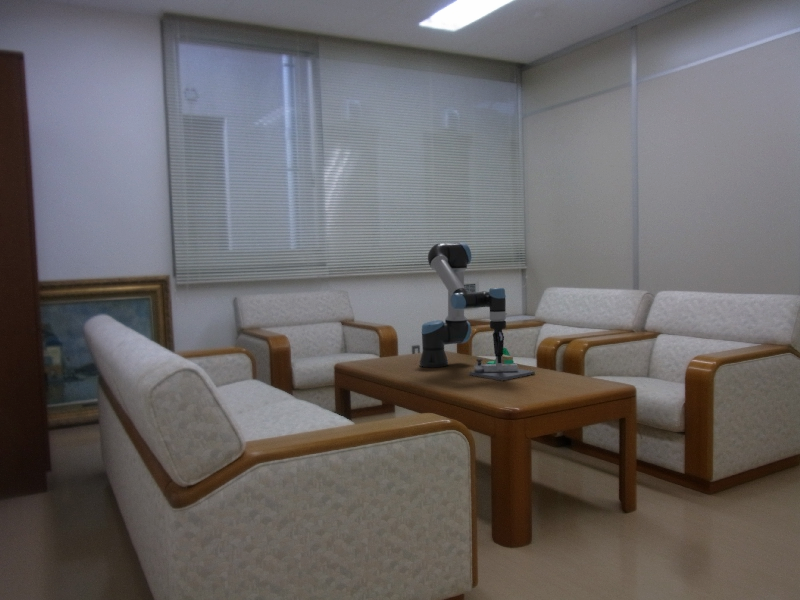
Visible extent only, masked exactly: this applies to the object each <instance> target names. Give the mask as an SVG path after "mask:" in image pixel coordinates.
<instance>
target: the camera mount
mask: <svg viewBox="0 0 800 600" xmlns="http://www.w3.org/2000/svg"><path fill="white" fill-rule="evenodd" d="M503 355H507V356H511V354H510V352H509V350H508V349H507V347H504V346H503ZM486 364H496V358H495V359H494V360H492V361H491V360H490V361H487V362H486ZM505 364H515V363H514V359H513V360H505Z"/></svg>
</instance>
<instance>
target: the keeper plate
mask: <svg viewBox="0 0 800 600" xmlns="http://www.w3.org/2000/svg"><path fill="white" fill-rule="evenodd" d="M505 360H513V361H514V356H511V355H510V356H507V355H502V364H505ZM468 373H469V376H472V375H473V377H477V376H478V378H483V377H484V379H488V378H489V380H494V379H495V380H496V381H500V380H501V382H504V381H503V380H505V381H509V380H508V379H510V380H514V379H513V378H515V379H519V378H518V377H520V378H523V377H522V376H525V377H528V376H527V375H530V376H532V375H531V374H535V375H536V371H534V370H529V369H521V368H518V371H507V372H474V370H472V371H469V372H468Z"/></svg>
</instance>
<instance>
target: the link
mask: <svg viewBox="0 0 800 600" xmlns="http://www.w3.org/2000/svg"><path fill="white" fill-rule="evenodd" d="M476 362H477V364H474V365H473V367H474V369H473V371H474V372H507V371H518V369H519V368H518V366H519V364H517V363H514V364H502V370H496V364H487V363H485V364H482V362H483V358H477V359H476Z"/></svg>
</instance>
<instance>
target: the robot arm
mask: <svg viewBox="0 0 800 600" xmlns="http://www.w3.org/2000/svg"><path fill="white" fill-rule="evenodd" d="M471 261H472V251H471V249H470V246H469V245H468V244H467V243H465V242H439V243H435V244H434V245H433V246H432V247H431V248H430V249H429V251H428V254H427V262H428V265H429V266H430V268H431V269H432V270H433V271H435V272H436V274H437V276H438V277H439V279H440V280H441V281H442V283H443V285H444V286H445V288H446V289H447V310H448V311H447V316H446V317H445V319H444V320H445V322H444V320H439V319H438V320H431V321H427V322H424V323H423V324H422V326H421V345H422V353H421V357H420V360H419V367H422V366H423V367H424V368H444V367H447V366H449V359H448V357H447V354H446V350H445V345H453V344H455V345H456V344H458V345H459V344H465V343H467V342H468V341H469V340H470V338H471V335H472V327H471V323H470V322H469V321H468V319H467V317H466V316H465V309H476V308H489V320H490V321H489V329H491V330H494V331H493V333H492V339H493V351H494V353H493V354H495V355H494V356H495V359H496V370H502V355H503V347H504V340H505V335H504V332H503V330H505V329H506V328H507V321H506V318H507V317H506V316H507V315H508V313H507V312H506V309H507V308H506V305H507V304H506V297H507V296H506V289H505V288H504V287H491V288H489V289H488V291H487V290H486V291H477V292H473V291H472V292H468V291H467V289H466V288H465V272H466V270H467V269H468V265H469V264H471ZM443 366H444V367H443ZM423 367H422V368H423Z"/></svg>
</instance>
